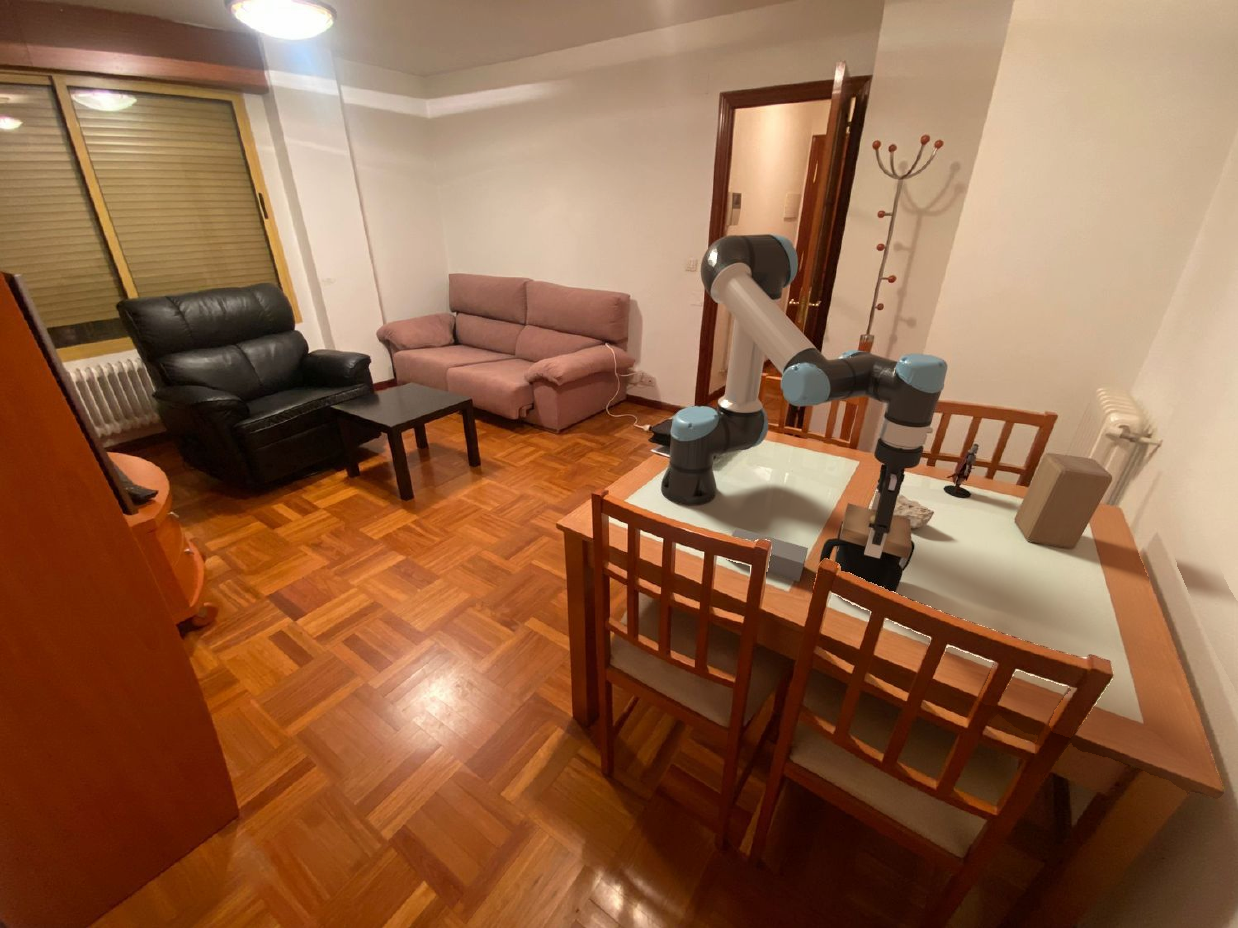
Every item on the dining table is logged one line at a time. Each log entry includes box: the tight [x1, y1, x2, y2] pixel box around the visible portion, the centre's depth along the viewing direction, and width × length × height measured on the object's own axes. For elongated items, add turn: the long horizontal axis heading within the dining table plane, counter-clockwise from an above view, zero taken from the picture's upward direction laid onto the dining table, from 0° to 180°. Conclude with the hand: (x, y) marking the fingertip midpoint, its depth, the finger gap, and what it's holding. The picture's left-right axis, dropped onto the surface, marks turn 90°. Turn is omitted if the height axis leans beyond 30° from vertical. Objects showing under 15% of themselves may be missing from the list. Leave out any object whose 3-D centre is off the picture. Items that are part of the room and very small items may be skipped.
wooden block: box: [1014, 452, 1113, 550], centre depth 118 cm, size 10×10×20 cm
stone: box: [872, 494, 935, 529], centre depth 126 cm, size 8×12×10 cm
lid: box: [840, 502, 912, 559], centre depth 100 cm, size 12×12×4 cm
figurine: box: [943, 443, 980, 499], centre depth 137 cm, size 7×7×15 cm
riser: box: [731, 527, 809, 583], centre depth 110 cm, size 16×6×5 cm, turn 62°
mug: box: [819, 520, 916, 593], centre depth 103 cm, size 16×16×12 cm
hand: (873, 537), depth 101 cm, fingers open, 13 cm apart
